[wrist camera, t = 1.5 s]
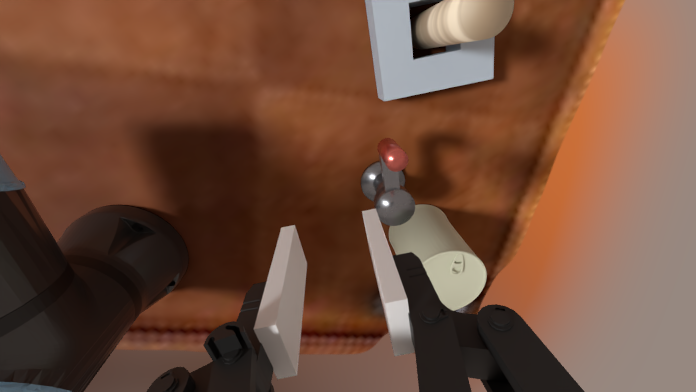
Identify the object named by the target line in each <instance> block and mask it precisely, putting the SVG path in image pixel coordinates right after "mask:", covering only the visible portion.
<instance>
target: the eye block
mask: <svg viewBox="0 0 696 392" xmlns="http://www.w3.org/2000/svg"><path fill="white" fill-rule="evenodd" d="M440 1H443V0H365V3H366V11H367V18H368V25H369V33H370V40H371V48H372V55H373V62H374V70H375V77H376V84H377V92H378V98H380V99H381V100H383V101H389V100H393V99H398V98H403V97H408V96H413V95H418V94H422V93H427V92H432V91H437V90H442V89H447V88H451V87H456V86H461V85H466V84H471V83H476V82H480V81H485V80H490V79H493V72H494V38H495V36H494V37H492V38H489V39H485V40H478V41H472V42H466V43H460V44H454V45H447V46H446V52H441V53H436V54H431V55H427V56H422V57H417V58H413V50H412V38H411V25H410V13H409V8H412V7H417V6H421V5H426V4H431V3H435V2H440Z"/></svg>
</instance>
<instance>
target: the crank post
mask: <svg viewBox="0 0 696 392" xmlns="http://www.w3.org/2000/svg"><path fill="white" fill-rule="evenodd" d="M398 176H399V185H402V186H403V187H404V185H405V177H404V174H403V172H402V170H401V171H398ZM361 187H362V191H363V193H364V194H365V196H366V197H367V198H368V199H370V200H372V201H374V197H375V195H376V193H377V192H378V191H379V190H380V189H381V188H382V187H384V186H383V180H382V173H381V166H380V161H377V162H375V163H373V164H371V165H370V166H368V167H367V168H366V169H365V171H364V172H363V174H362V177H361Z"/></svg>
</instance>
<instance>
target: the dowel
mask: <svg viewBox="0 0 696 392" xmlns="http://www.w3.org/2000/svg"><path fill="white" fill-rule="evenodd" d="M513 8H514V0H443V1H441V2H440V3H438V4H436V5H434V6H432V7H431V8H429V9H427V10H425V11H423V12H421V13H420V14H418V15H416V16H415V17H414V18H413V19H412V20H411V22H410V25H411V38H412V46H413V47H415V48H416V49H429V48H435V47H441V46H447V45H454V44H460V43H466V42H472V41H478V40H485V39H489V38H492V37H494V36H496V35H497V34H499V33H500V32H501V31H502V30H503V29H504V28H505V27H506V25H507V24H508V22H509V20H510V18H511V16H512V13H513Z"/></svg>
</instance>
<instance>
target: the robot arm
mask: <svg viewBox="0 0 696 392" xmlns="http://www.w3.org/2000/svg"><path fill="white" fill-rule="evenodd" d="M25 187H26V186H25V184H24V182H22V181H20V180H18V179H17V178H16V176H15V175H14V173H13V172H12V171H11V169H10V168H9V166H8V165H7V163H6V162H5V161H4V159H3V158H2V156H1V155H0V392H84V390H85V389H86V387H87V386H88V385H89V383H90V382H91V381H92V379H93V378H94V376H95V375H96V374H97V372H98V371H99V370H100V368H101V367H102V365H103V364H104V363H105V361H106V360H107V358H108V357H109V356H110V354H111V353H112V351H113V350H114V349H115V347H116V346H117V345H118V343H119V342H120V340H121V339H122V338H123V336H124V335H125V333H126V332H127V331H128V329H129V328H130V326H131V325H132V324H133V322H134V321H135V320H136V318H137V317H138V316H139V314H140V313H142V312H143V311H145V310H146V309H148V308H149V307H150V306H152V305H153V304H155V303H156V302H157V301H159V300H160V299H162V298H163V297H164V296H166V295H167V294H169V293H170V292H171V291H172V290H173V289H174V288H175V287H176V286H177V285H178V283H179V282H180V280H181V279H182V277H183V276H184V274H185V272H186V270H187V267H188V261H189V258H188V251H187V248H186V245H185V243H184V241H183V239H182V238H181V236H180V235H179V234H178V232H177V231H176V230H175V229H174V228H173V227H172V226H171V225H170V224H168V223H167V222H166V221H164V220H163V219H161V218H160V217H158V216H156V215H154V214H152V213H150V212H148V211H145V210H143V209H139V208H136V207H131V206H124V205H110V206H104V207H100V208H97V209H94V210H92V211H90V212H88V213H87V214H85V215H83V216H82V217H80V218H79V219H77V220H76V221H74V222H73V223H72V224H71V225H70V226H69V227H68V228H67V229H66V230H65V232H64V233H63V235H62V236H61V238H60V239H59V240H58V242H57V243H56V241H55V239H54V238H53V236H52V234H51V233H50V231H49V229H48V228H47V226H46V225H45V223H44V221H43V220H42V218H41V216H40V215H39V213H38V211H37V210H36V208H35V206H34V205H33V203H32V202H31V200H30V198H29V197H28V195H27V193H26V192H25V190H24V188H25ZM362 214H363V219H364V224H365V230H366V235H367V240H368V245H369V251H370V255H371V259H372V263H373V268H374V272H375V276H376V280H377V284H378V289H379V293H380V297H381V301H382V305H383V310H384V314H385V318H386V322H387V327H388V331H389V335H390V339H391V343H392V348H393V352H394V356H399V355H404V354H409V353H415V354H416V363H417V373H418V383H419V392H471V388H470V384H469V380H468V377H470V378H476V379H480V380H481V381H482V383H483V385H484V387H485V389H486V390H487V392H584V391H583V389H582V388H581V387H580V386H579V385H578V384H577V382H576V381H575V380H574V379H573V378H572V377H571V375H570V374H569V373H568V372H567V371H566V370H565V368H564V367H563V366H562V365H561V364H560V362H558V360H557V359H556V358H555V357H554V355H553V354H552V353H551V352H550V351H549V350H548V348H547V347H546V346H545V345H544V344H543V342H542V341H541V340H540V339H539V338H538V337H537V335H536V334H535V333H534V332H533V331H532V329H531V328H530V327H529V326H528V325H527V324H526V322H525V321H524V320H523V319H522V318H521V317H520V316H519V315H518V314H517V313H516V312H515V311H514V310H512V309H510V308H508V307H505V306H501V305H488V306H485V307H483V308H482V309H481V310H480V311H479V312H478V315H477V314H465V313H459V312H455V311H453V310H451V309H449V308H447V307H446V306H445V305H444V304H443V303H442V302H441V301H440V299H439V297H438V295H437V293H436V291H435V289H434V287H433V285H432V283H431V281H430V279H429V277H428V275H427V272H426V270H425V268H424V266H423V264H422V262H421V260H420V258H419V257H417V256H416V255H415V254H414V253H412V252H409V253H404V254H399V255H394V256H392V254H391V251H390V248H389V245H388V242H387V239H386V236H385V234H384V231H383V228H382V225H381V222H380V219H379V217H378V214H377V211H376V209H371V210H366V211H362ZM306 272H307V262H306V259H305V255H304V252H303V249H302V246H301V243H300V240H299V236H298V233H297V230H296V227H295V225H292V226H287V227H282V228H281V231H280V234H279V238H278V242H277V245H276V249H275V253H274V256H273V260H272V264H271V267H270V271H269V275H268V278H267V282H262V283H257V284H253V286H252V287H251V288H250V290H249V291H248V292H247V293H246V296H245V299H244V302H243V305H242V308H241V310H240V311H241V312H240V313H239V316H238V319H237V322H234V321H233V322H228V323H225V324H223V325H221V326H219V327H218V328H216V329H215V330H214V331H212V332H211V334H210V335H209V336H208V337H207V339H206V341H205V343H204V347H205V349H206V350H207V352H208V354H209V355H210V357H211V358H212V360H213V362H211V363H209V364H207V365H205V366H203V367H201V368H199V369H198V370H195V371H193V372H191V373H189V372H188V370H186V369H185V368H184V367H176V368H173V369H170V370H168V371H167V372H165V373H163V374H162V375H161V376H160V377H158V378H157V379H156V380H155V381H154V382H153V383H152V385H151V386H150V387H149V389H148V390H147V392H274V388H273V385H272V383H271V380H272V374H273V371H274V373H275V375H276V377H277V379H281V378H286V377H291V376H296V375H297V370H298V359H299V349H300V338H301V327H302V316H303V305H304V294H305V283H306ZM414 349H415V352H414Z"/></svg>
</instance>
